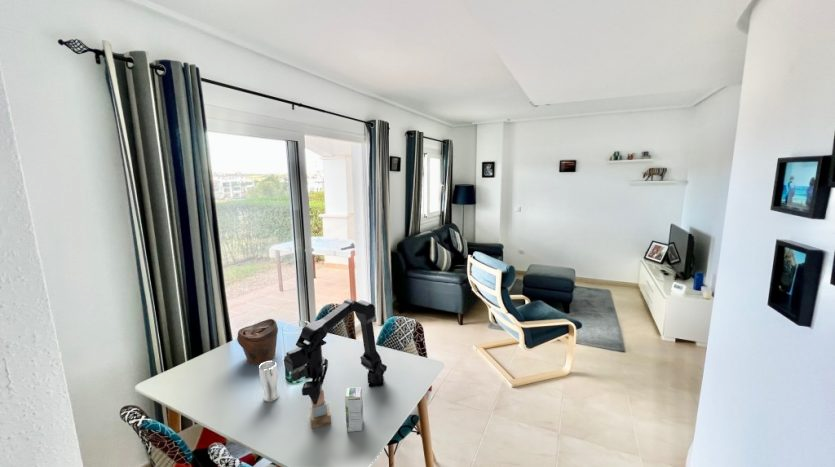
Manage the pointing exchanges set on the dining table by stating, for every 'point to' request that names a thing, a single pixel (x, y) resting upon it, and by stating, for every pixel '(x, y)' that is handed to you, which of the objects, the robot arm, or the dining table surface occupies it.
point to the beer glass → (269, 380)
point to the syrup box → (354, 409)
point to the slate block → (320, 410)
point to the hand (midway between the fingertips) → (317, 395)
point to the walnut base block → (320, 419)
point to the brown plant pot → (259, 341)
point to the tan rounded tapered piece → (319, 400)
